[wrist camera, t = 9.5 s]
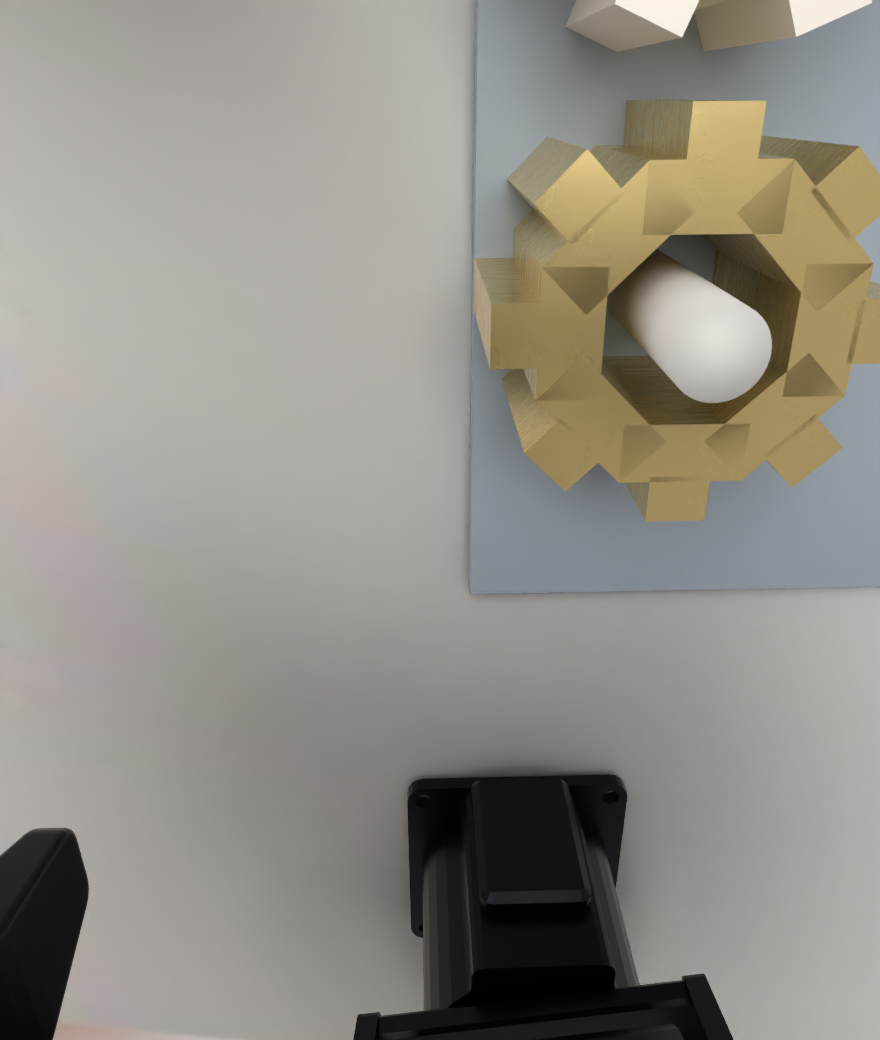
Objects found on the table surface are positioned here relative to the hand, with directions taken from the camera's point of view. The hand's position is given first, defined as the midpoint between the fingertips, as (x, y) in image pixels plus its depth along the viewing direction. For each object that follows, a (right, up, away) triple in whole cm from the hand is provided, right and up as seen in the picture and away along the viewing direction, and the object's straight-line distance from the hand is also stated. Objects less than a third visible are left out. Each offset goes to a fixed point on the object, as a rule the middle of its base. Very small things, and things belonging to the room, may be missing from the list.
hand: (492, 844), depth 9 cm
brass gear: (+4, +9, +9) cm, 13 cm away
